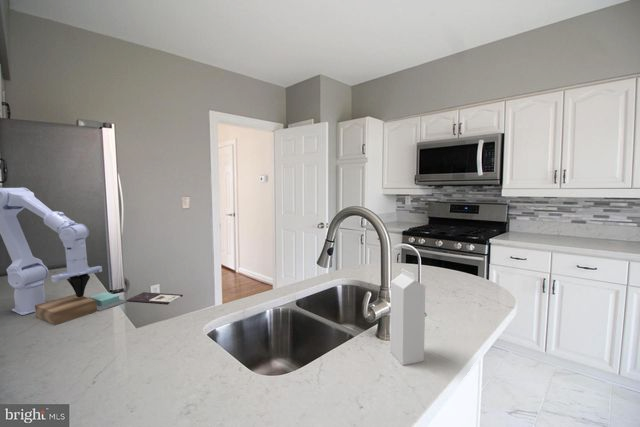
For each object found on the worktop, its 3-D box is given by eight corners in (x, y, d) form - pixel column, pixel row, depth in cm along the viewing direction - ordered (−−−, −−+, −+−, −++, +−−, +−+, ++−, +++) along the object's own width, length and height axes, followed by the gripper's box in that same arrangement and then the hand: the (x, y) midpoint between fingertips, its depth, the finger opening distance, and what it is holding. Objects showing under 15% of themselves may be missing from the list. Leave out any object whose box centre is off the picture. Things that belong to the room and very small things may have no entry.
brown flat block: (36, 316, 103) (34, 305, 103) (77, 304, 114) (76, 294, 114) (54, 325, 97) (53, 312, 96) (97, 311, 107) (96, 300, 107)
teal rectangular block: (106, 292, 120) (106, 296, 120) (88, 297, 115) (89, 302, 115) (118, 295, 116) (119, 300, 116) (101, 301, 111) (101, 306, 111)
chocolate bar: (143, 292, 125) (182, 294, 121) (143, 294, 125) (182, 297, 121) (125, 300, 116) (167, 303, 112) (125, 302, 116) (167, 305, 113)
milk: (402, 365, 72) (403, 275, 70) (389, 352, 78) (390, 268, 76) (424, 361, 74) (426, 273, 72) (410, 348, 80) (411, 266, 78)
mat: (77, 303, 115) (77, 302, 115) (105, 295, 123) (105, 294, 123) (99, 311, 107) (99, 310, 107) (127, 302, 115) (127, 301, 115)
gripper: (56, 264, 99) (60, 305, 100) (105, 255, 112) (108, 291, 113) (46, 262, 102) (50, 301, 104) (95, 253, 115) (98, 288, 116)
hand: (79, 296), depth 109 cm, fingers closed
